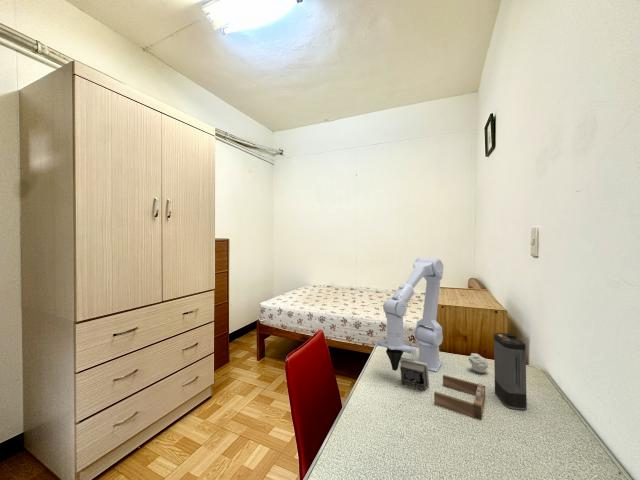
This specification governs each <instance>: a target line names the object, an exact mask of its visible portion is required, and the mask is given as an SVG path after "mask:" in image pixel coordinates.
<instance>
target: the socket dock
mask: <svg viewBox="0 0 640 480" xmlns="http://www.w3.org/2000/svg"><path fill="white" fill-rule="evenodd" d="M442 387H445V388H449V389H453V390H455V391H459V392H462V393H466V394H469V395H472V396H474V400H473V402H470V401H468V400H463V399H460V398H457V397H453V396H451V395H447V394H444V393H441V392H437V391H434V392H433V395H434V397H433V401H434V402H433V405H435V406H438V407H441V408H445V409H447V410H450V411H454V412H456V413H459V414H462V415H465V416H467V417H471V418H474V419H476V420H479V421H482V418H483V413H484V407H485V400H486V386H485V385H484V384H483V383H481V382H479V383H475V382H471V381H468V380H465V379H461V378H457V377H453V376H449V375H446V374H443V375H442Z"/></svg>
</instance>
